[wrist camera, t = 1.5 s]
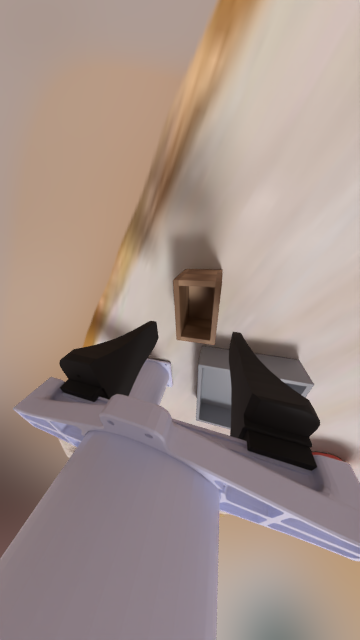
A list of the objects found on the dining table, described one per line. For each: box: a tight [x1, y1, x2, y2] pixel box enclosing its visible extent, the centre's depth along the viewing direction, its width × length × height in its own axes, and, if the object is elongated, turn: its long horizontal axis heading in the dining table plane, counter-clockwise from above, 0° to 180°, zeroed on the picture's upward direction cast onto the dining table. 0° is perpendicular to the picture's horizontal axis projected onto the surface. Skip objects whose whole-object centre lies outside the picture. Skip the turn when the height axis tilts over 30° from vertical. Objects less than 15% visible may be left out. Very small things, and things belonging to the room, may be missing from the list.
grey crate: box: [196, 346, 314, 430], centre depth 27 cm, size 15×17×4 cm
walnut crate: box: [173, 269, 222, 345], centre depth 19 cm, size 5×8×6 cm, turn 2°
